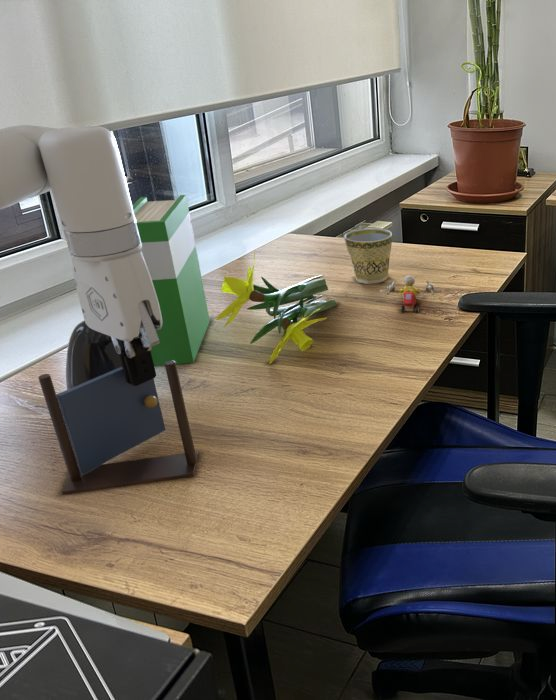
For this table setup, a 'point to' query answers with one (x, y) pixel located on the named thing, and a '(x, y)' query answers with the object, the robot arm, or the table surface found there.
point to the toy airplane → (410, 293)
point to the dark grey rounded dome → (89, 355)
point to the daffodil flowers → (275, 299)
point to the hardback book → (173, 277)
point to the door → (109, 417)
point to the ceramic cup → (369, 253)
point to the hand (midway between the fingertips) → (142, 380)
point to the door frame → (126, 470)
